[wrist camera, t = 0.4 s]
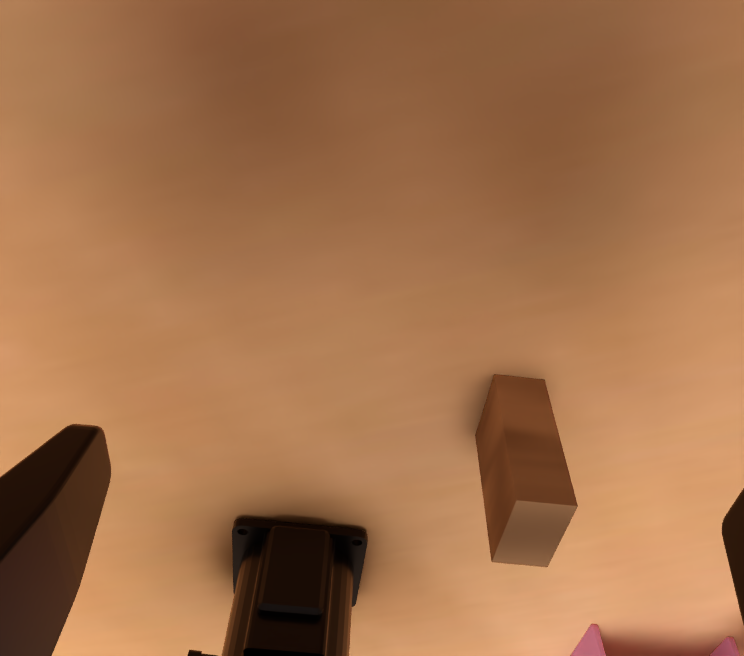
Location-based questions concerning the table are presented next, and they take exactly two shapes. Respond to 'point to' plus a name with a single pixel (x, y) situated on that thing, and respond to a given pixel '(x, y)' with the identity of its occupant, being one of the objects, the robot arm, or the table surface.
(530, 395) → the wooden rectangular block
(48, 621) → the robot arm
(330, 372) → the table surface
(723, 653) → the toy chair
